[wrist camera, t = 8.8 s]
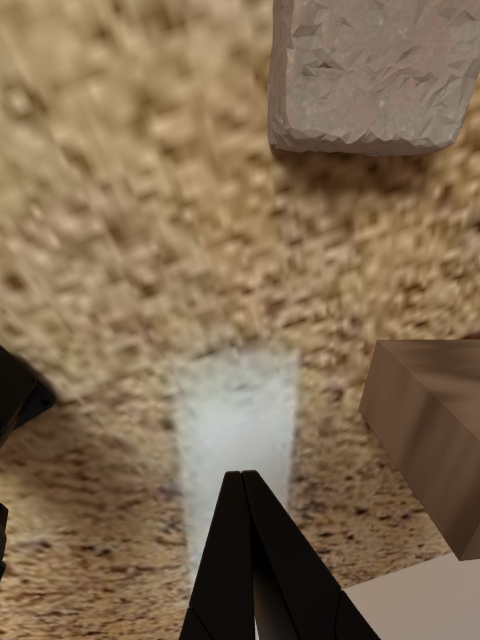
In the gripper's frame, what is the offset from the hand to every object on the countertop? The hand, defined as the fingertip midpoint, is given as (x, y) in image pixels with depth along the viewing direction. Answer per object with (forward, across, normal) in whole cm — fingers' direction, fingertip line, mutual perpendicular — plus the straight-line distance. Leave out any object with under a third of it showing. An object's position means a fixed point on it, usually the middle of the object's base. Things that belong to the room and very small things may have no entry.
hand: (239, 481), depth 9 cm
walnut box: (+13, -16, +6) cm, 22 cm away
